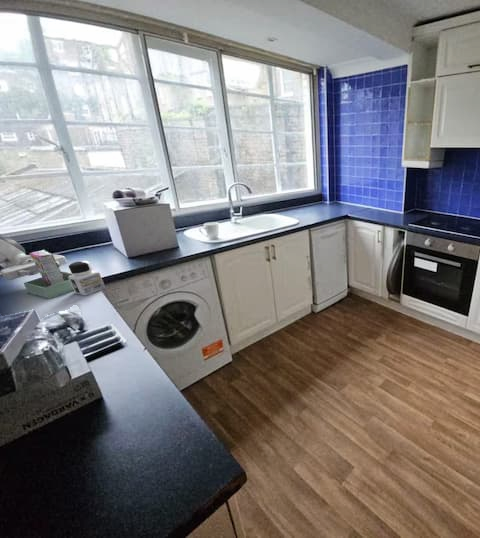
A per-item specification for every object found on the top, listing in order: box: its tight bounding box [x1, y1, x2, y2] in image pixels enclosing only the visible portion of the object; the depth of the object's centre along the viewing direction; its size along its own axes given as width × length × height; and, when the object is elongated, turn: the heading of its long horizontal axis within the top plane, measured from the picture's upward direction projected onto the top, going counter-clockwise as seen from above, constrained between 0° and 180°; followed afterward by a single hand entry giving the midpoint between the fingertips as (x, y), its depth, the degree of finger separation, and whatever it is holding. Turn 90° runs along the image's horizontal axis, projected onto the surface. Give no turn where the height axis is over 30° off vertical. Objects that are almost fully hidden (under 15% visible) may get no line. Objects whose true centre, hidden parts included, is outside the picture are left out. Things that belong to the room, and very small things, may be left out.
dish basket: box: [23, 270, 74, 300], centre depth 128 cm, size 13×16×5 cm
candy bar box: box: [28, 249, 65, 287], centre depth 126 cm, size 11×5×16 cm, turn 58°
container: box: [68, 260, 106, 296], centre depth 124 cm, size 8×8×13 cm
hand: (45, 269), depth 126 cm, fingers open, 8 cm apart
